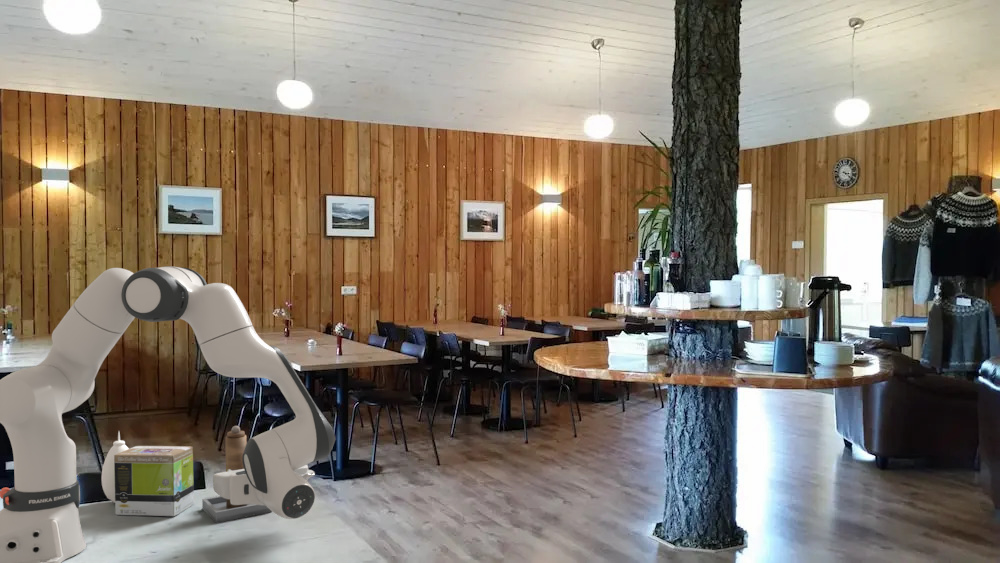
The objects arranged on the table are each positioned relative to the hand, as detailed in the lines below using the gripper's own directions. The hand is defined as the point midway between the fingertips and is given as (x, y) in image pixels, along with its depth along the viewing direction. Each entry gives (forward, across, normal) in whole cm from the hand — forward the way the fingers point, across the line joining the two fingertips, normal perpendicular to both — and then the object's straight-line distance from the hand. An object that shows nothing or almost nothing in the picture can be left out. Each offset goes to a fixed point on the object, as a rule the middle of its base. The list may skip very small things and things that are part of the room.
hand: (251, 469), depth 177 cm
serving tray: (+11, 0, +12) cm, 17 cm away
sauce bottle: (+34, +22, +12) cm, 42 cm away
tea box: (+23, +16, +13) cm, 31 cm away
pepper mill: (+11, 0, +12) cm, 16 cm away
